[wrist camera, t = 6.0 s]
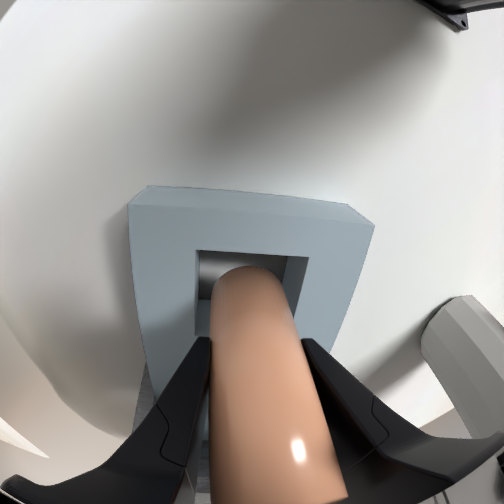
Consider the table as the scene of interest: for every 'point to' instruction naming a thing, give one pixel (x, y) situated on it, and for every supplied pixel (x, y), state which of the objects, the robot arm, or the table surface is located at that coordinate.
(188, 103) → the table surface
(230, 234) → the socket plate
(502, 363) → the water bottle
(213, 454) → the peg
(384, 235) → the table surface
